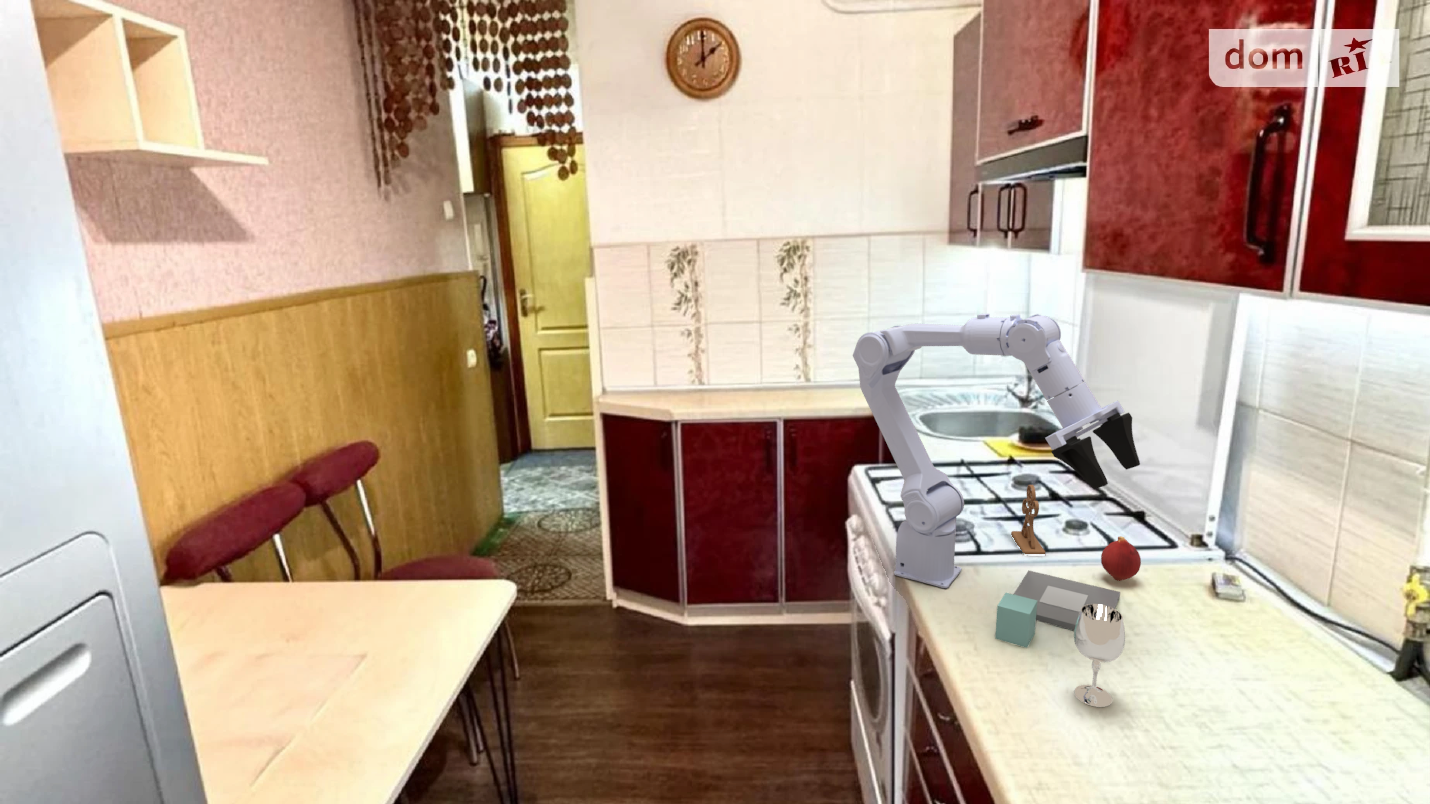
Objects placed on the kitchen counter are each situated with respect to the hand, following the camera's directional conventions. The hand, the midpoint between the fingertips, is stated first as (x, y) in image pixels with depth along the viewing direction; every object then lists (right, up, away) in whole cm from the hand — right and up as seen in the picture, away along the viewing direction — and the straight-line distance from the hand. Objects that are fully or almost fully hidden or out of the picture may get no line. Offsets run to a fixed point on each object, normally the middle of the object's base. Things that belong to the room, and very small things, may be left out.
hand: (1117, 476), depth 103 cm
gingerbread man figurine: (+2, -17, +35) cm, 39 cm away
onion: (+12, -20, +21) cm, 31 cm away
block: (-12, -24, +7) cm, 28 cm away
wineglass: (-7, -28, -7) cm, 30 cm away
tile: (-1, -22, +14) cm, 26 cm away
